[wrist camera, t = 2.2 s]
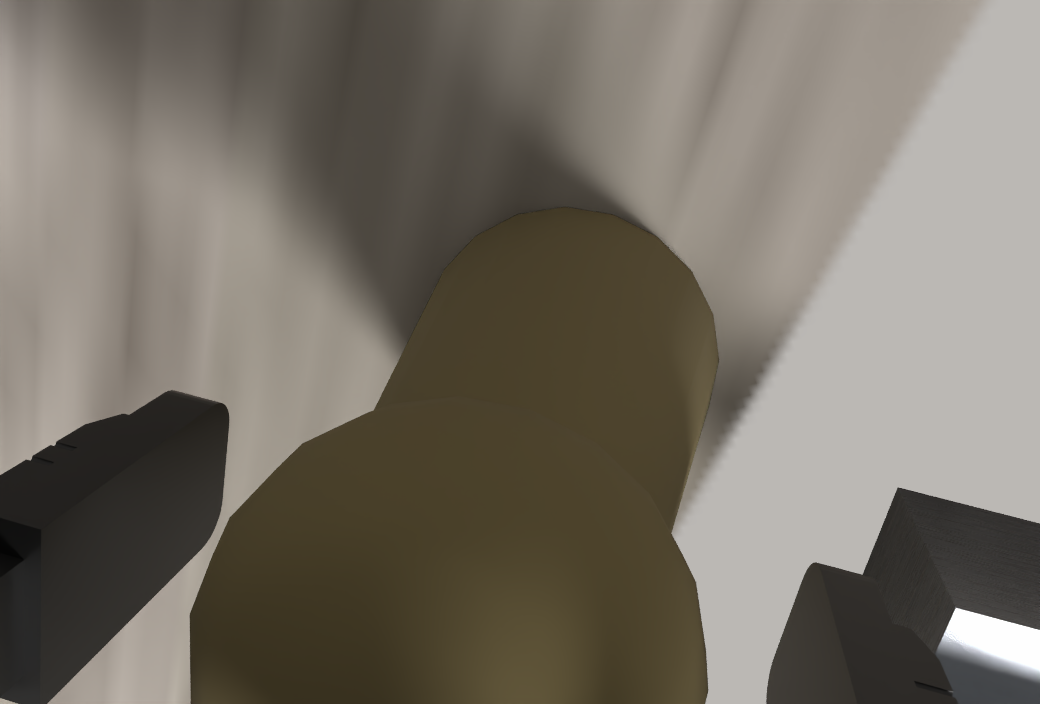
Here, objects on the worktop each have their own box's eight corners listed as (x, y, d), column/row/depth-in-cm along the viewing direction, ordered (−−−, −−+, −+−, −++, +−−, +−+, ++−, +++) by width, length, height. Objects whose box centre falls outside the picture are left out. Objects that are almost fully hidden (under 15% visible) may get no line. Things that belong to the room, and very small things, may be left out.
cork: (482, 515, 19) (246, 1049, 9) (379, 260, 18) (-47, 549, 7) (754, 452, 17) (849, 1016, 7) (667, 164, 16) (634, 365, 6)
